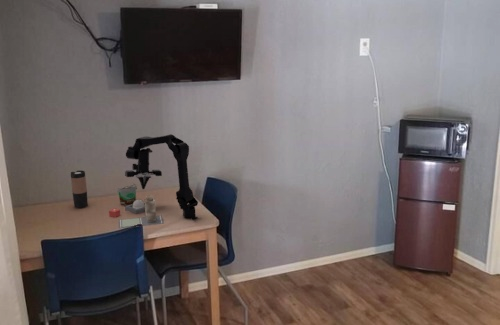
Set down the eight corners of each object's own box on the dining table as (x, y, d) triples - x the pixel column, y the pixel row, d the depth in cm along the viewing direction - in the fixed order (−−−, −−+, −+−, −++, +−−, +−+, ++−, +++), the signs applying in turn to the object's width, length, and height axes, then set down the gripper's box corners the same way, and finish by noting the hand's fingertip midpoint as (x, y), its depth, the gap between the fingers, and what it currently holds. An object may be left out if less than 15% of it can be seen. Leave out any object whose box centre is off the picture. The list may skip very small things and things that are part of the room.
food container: (125, 207, 264) (123, 190, 262) (118, 205, 268) (116, 188, 265) (142, 201, 274) (141, 185, 271) (135, 199, 277) (134, 183, 275)
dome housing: (152, 211, 258) (152, 205, 257) (135, 215, 251) (135, 210, 250) (141, 206, 265) (141, 201, 264) (125, 211, 258) (125, 206, 257)
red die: (120, 216, 250) (119, 208, 249) (115, 219, 246) (114, 211, 245) (114, 215, 251) (113, 207, 250) (109, 218, 248) (108, 210, 247)
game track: (161, 217, 248) (161, 215, 248) (164, 225, 237) (163, 223, 237) (118, 221, 243) (118, 219, 242) (118, 230, 232) (118, 227, 231)
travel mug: (85, 208, 263) (82, 174, 258) (71, 208, 263) (68, 174, 258) (90, 204, 270) (86, 170, 265) (77, 204, 270) (73, 170, 265)
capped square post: (154, 218, 244) (153, 194, 241) (156, 221, 240) (154, 197, 237) (145, 219, 242) (144, 195, 239) (147, 222, 238) (145, 198, 235)
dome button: (147, 210, 258) (146, 199, 256) (137, 213, 253) (136, 202, 252) (140, 207, 262) (139, 197, 260) (130, 210, 258) (129, 199, 256)
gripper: (156, 158, 264) (156, 185, 266) (122, 158, 256) (122, 187, 257) (162, 160, 254) (161, 189, 256) (127, 161, 246) (127, 190, 248)
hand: (143, 189), depth 254 cm, fingers closed
